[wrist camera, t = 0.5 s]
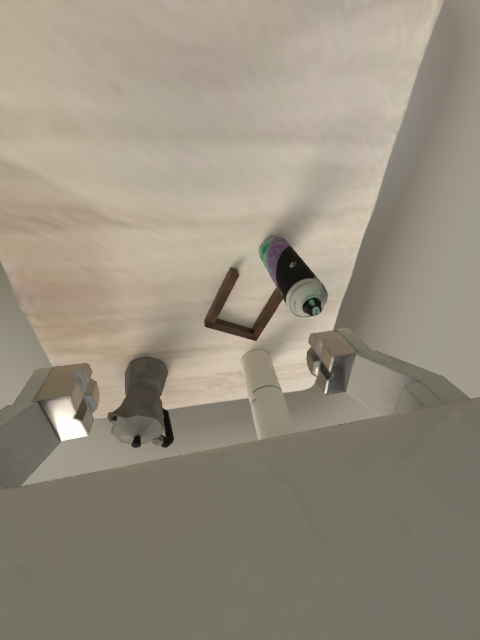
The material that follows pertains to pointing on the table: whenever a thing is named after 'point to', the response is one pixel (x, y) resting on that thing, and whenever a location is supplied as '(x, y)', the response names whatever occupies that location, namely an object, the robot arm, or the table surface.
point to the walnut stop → (233, 328)
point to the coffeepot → (143, 406)
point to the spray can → (293, 278)
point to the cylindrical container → (266, 396)
